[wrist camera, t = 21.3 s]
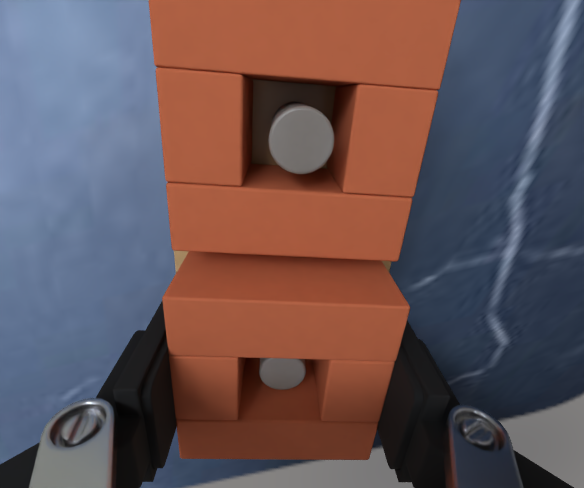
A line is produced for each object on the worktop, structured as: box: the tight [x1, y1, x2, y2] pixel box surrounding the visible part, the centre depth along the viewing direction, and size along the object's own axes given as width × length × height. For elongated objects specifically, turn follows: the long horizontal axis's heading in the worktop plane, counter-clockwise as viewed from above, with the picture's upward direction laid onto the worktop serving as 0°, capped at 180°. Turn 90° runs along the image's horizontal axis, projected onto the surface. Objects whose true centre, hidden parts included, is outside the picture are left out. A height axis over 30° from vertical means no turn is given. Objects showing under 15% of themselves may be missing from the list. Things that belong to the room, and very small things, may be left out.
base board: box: [174, 79, 392, 390], centre depth 10 cm, size 8×14×5 cm, turn 176°
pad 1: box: [149, 0, 461, 261], centre depth 9 cm, size 6×6×3 cm
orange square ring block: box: [162, 251, 410, 460], centre depth 10 cm, size 6×6×3 cm
